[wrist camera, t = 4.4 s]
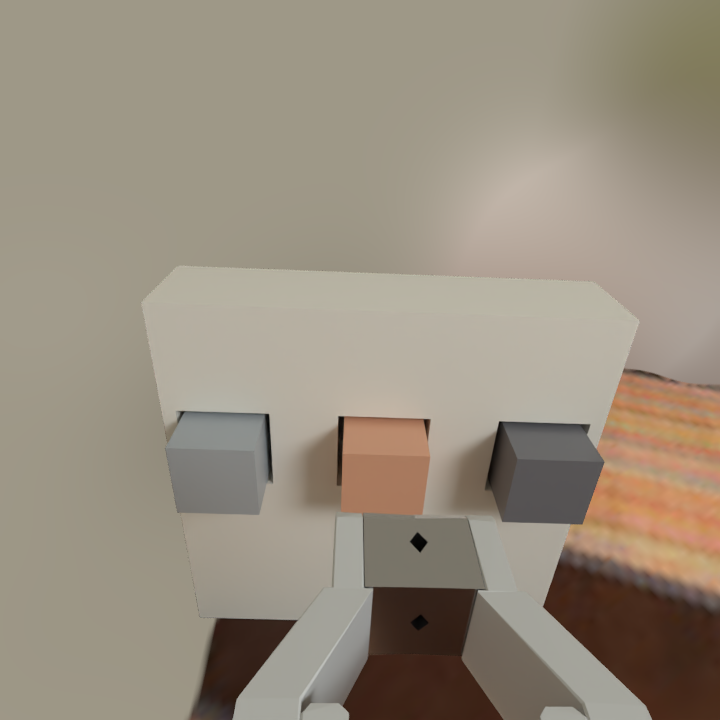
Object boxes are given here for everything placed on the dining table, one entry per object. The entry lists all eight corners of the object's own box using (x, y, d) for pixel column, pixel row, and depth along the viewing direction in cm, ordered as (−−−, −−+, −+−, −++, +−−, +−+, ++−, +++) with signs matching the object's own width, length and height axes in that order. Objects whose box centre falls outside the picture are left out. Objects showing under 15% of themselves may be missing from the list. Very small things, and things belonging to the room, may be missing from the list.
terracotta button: (421, 519, 25) (430, 456, 23) (340, 517, 25) (342, 453, 23) (414, 465, 28) (421, 406, 26) (343, 463, 28) (344, 404, 26)
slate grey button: (259, 514, 25) (254, 451, 23) (177, 512, 24) (165, 448, 23) (271, 461, 28) (268, 401, 26) (200, 458, 28) (191, 399, 26)
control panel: (536, 626, 33) (640, 320, 22) (199, 617, 32) (141, 302, 22) (515, 562, 37) (593, 281, 27) (218, 553, 37) (177, 265, 26)
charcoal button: (582, 524, 25) (604, 461, 23) (502, 522, 25) (517, 459, 23) (554, 470, 28) (572, 411, 26) (484, 467, 28) (496, 409, 26)
